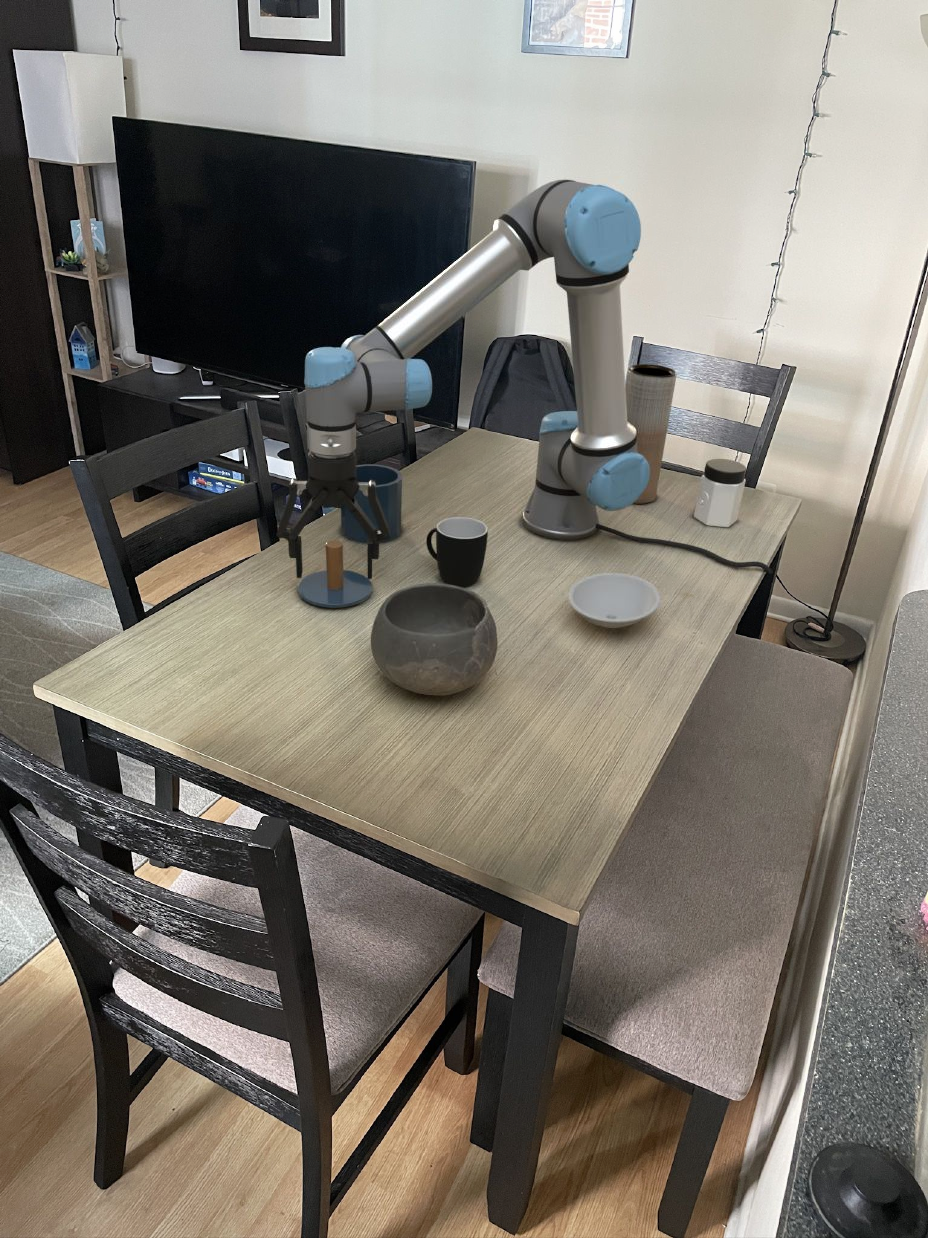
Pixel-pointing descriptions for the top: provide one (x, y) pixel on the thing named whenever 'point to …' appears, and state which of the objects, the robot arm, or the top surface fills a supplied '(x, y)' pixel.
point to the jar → (720, 492)
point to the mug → (459, 549)
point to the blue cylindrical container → (388, 498)
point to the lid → (334, 582)
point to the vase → (650, 416)
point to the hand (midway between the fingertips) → (334, 574)
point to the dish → (614, 599)
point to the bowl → (434, 638)
